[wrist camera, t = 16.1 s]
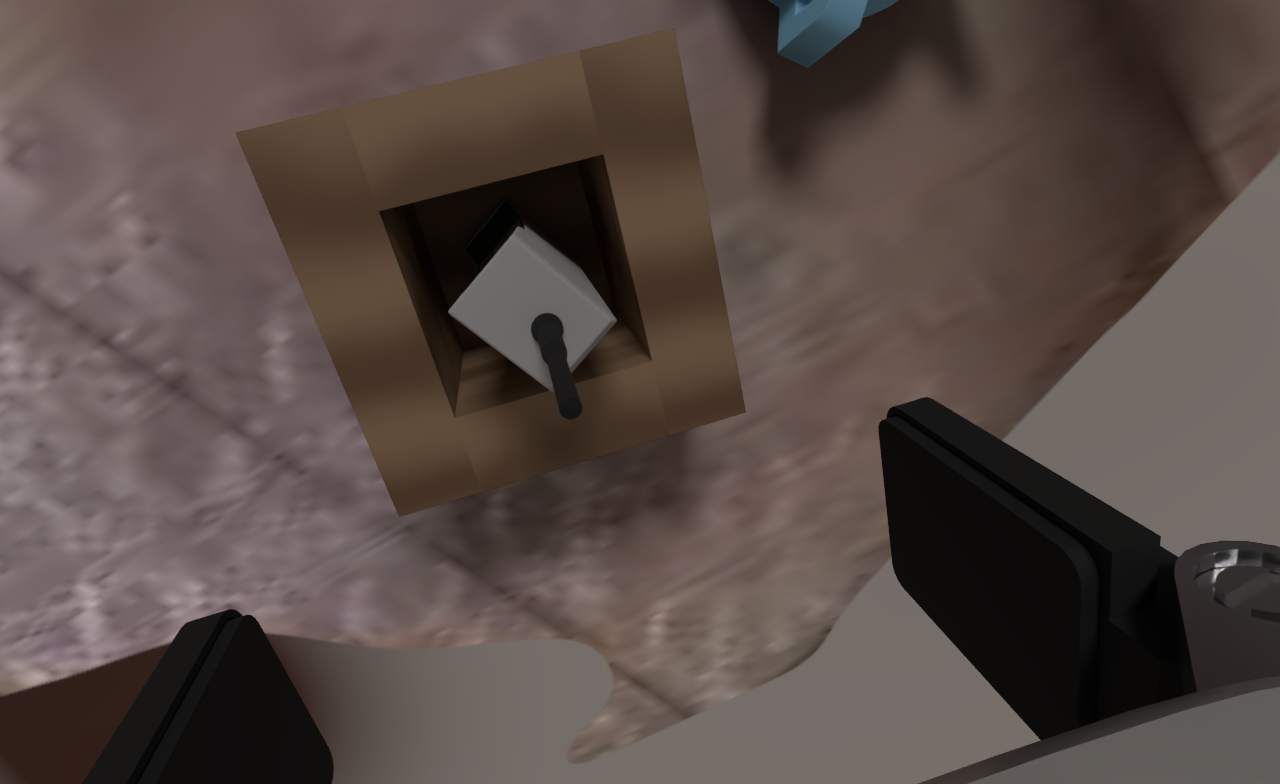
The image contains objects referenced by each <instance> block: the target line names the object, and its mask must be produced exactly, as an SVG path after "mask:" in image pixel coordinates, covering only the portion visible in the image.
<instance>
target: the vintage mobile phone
mask: <svg viewBox="0 0 1280 784" xmlns="http://www.w3.org/2000/svg"><path fill="white" fill-rule="evenodd" d="M464 251H465V253H466V254H467V255H468V257H469V258H470V259H471V261H472V262H473V263H474V264H475V266H476V276H475V279H474V281H473V282H472V283H471V284H470V285H469V287H468V288H467V289H466V290H465V291H464V293H462V294H461V295H460V297H459V298H458V299H457V300H456V302H455V303H454V304H453V306H452V307H451V308H450V309H449V311H448V313H449V314H450V315H451V316H452V317H453V318H455V319H456V320H457V321H459V322H460V323H461V324H463V325H464V326H465V327H467V328H468V329H469V330H471V331H472V332H473V333H475V334H476V335H477V336H478V337H480V338H481V339H482V340H484V341H485V342H486V343H488V344H489V345H490V346H492V347H493V348H494V349H496V350H497V351H498V352H500V353H501V354H502V355H503V356H505V357H506V358H507V359H509V360H510V361H511V362H513V363H514V364H515V365H517V366H518V367H519V368H521V369H522V370H523V371H525V372H526V373H527V374H529V375H530V376H531V377H532V378H534V379H535V380H536V381H538V382H539V383H540V384H542V385H543V386H544V387H546V388H547V389H548V390H550V391H551V392H553V393H554V392H555V396H556V400H557V404H558V408H559V412H560V414H561V415H562V416H563V417H564V418H566V419H575V418H577V417H578V416H579V415H580V414H581V412H582V404H581V401H580V398H579V395H578V392H577V389H576V386H575V383H574V380H573V377H572V374H571V373H572V372H573V371H574V370H575V368H576V367H577V366H578V365H579V364H580V363H581V362H582V360H583V359H584V358H585V357H586V356H587V355H588V354H589V352H590V351H591V350H592V349H593V348H594V347H595V346H596V345H597V343H598V342H599V341H600V340H601V339H602V338H603V337H604V335H605V334H606V333H607V332H608V331H609V330H610V329H611V327H612V326H613V325H614V324H615V323H616V321H617V320H616V318H615V317H614V315H613V314H612V312H611V311H610V309H609V308H608V307H607V305H606V304H605V302H604V301H603V299H602V298H601V297H600V295H599V294H598V292H597V291H596V289H595V288H594V286H593V285H592V284H591V282H590V281H589V279H588V278H587V276H586V275H585V273H584V272H583V271H582V269H581V268H580V266H579V265H578V263H577V262H576V260H575V259H574V258H573V256H572V255H571V254H570V253H569V252H568V251H567V250H566V249H565V248H563V247H562V246H561V245H560V244H559V243H558V242H556V241H555V240H554V239H553V238H552V237H551V236H550V235H548V234H547V233H546V232H545V231H544V230H543V229H542V228H540V227H539V226H538V225H537V224H536V223H535V222H533V221H532V220H531V219H530V218H529V217H528V216H527V215H525V214H524V213H523V212H522V211H521V210H520V209H518V208H517V207H516V206H515V205H514V204H513V203H512V202H510V201H509V200H508V199H507V198H504V199H503V201H502V202H501V203H500V204H499V205H498V207H497V208H496V209H495V210H494V211H493V213H492V214H491V215H490V216H489V218H488V219H487V220H486V221H485V222H484V224H483V225H482V226H481V227H480V228H479V230H478V231H477V232H476V233H475V235H474V236H473V237H472V238H471V239H470V241H469V242H468V243H467V244H466V245H465V247H464Z"/></svg>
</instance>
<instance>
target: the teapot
mask: <svg viewBox="0 0 1280 784" xmlns="http://www.w3.org/2000/svg"><path fill="white" fill-rule="evenodd" d="M768 1H770V2H771V3H773V4H774V5H775V6H777V7H778V8H780V9H779V28H778V47H777V54H779V55H781V56H783V57H785V58H787V59H789V60H791V61H793V62H795V63H797V64H800V65H802V66H804V67H806V68H809V67H810V66H811V65H812V64H814V63H815V62H816V61H818V60H819V59H820V58H821V57H823V56H824V55H825V54H826V53H828V52H829V51H830V50H831V49H833V48H834V47H835V46H836V45H838V44H839V43H840V42H841V41H843V40H844V39H845V38H847V37H848V36H849V35H850V34H852V33H853V32H854V31H855V30H857V29H858V28H859V27H860V24H861V21H862V18H864V17H867V16H870V15H873V14H875V13H877V12H879V11H881V10H883V9H885V8H887V7H889V6H891V5H893V4H894V3H896V2H897V1H899V0H768Z"/></svg>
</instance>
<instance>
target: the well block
mask: <svg viewBox="0 0 1280 784" xmlns="http://www.w3.org/2000/svg"><path fill="white" fill-rule="evenodd" d="M236 136H237V138H238V140H239V143H240V145H241V147H242V150H243V152H244V154H245V157H246V159H247V161H248V164H249V166H250V168H251V171H252V173H253V175H254V178H255V180H256V182H257V185H258V187H259V189H260V192H261V194H262V197H263V199H264V201H265V204H266V206H267V208H268V211H269V213H270V215H271V218H272V220H273V222H274V225H275V227H276V229H277V232H278V234H279V236H280V239H281V241H282V243H283V246H284V248H285V250H286V253H287V255H288V257H289V260H290V262H291V264H292V267H293V269H294V272H295V274H296V276H297V279H298V281H299V283H300V286H301V288H302V290H303V293H304V295H305V297H306V300H307V302H308V304H309V307H310V309H311V311H312V314H313V316H314V318H315V321H316V323H317V325H318V328H319V330H320V332H321V335H322V337H323V340H324V342H325V344H326V347H327V349H328V351H329V354H330V356H331V358H332V361H333V363H334V365H335V368H336V370H337V372H338V375H339V377H340V379H341V382H342V384H343V386H344V389H345V391H346V393H347V396H348V398H349V400H350V403H351V405H352V407H353V410H354V412H355V415H356V417H357V419H358V422H359V424H360V426H361V429H362V431H363V433H364V436H365V438H366V440H367V443H368V445H369V447H370V450H371V452H372V454H373V457H374V459H375V461H376V464H377V466H378V468H379V471H380V473H381V475H382V478H383V480H384V482H385V485H386V487H387V490H388V492H389V494H390V497H391V499H392V501H393V504H394V506H395V508H396V511H397V513H398V515H399V517H401V516H404V515H407V514H410V513H414V512H417V511H420V510H424V509H427V508H430V507H434V506H437V505H440V504H444V503H447V502H450V501H454V500H457V499H460V498H464V497H467V496H470V495H473V494H477V493H480V492H483V491H487V490H490V489H493V488H497V487H500V486H503V485H507V484H510V483H513V482H517V481H520V480H523V479H527V478H530V477H533V476H537V475H540V474H543V473H546V472H550V471H553V470H556V469H560V468H563V467H566V466H570V465H573V464H576V463H580V462H583V461H586V460H590V459H593V458H596V457H600V456H603V455H606V454H609V453H613V452H616V451H619V450H623V449H626V448H629V447H633V446H636V445H639V444H643V443H646V442H649V441H653V440H656V439H659V438H663V437H666V436H669V435H672V434H676V433H679V432H682V431H686V430H689V429H692V428H696V427H699V426H702V425H706V424H709V423H712V422H716V421H719V420H722V419H726V418H729V417H732V416H735V415H739V414H742V413H745V412H746V411H745V405H744V400H743V395H742V389H741V384H740V379H739V373H738V368H737V362H736V357H735V352H734V346H733V341H732V336H731V330H730V325H729V320H728V314H727V309H726V303H725V298H724V293H723V287H722V282H721V277H720V271H719V266H718V260H717V255H716V250H715V244H714V239H713V234H712V228H711V223H710V218H709V212H708V207H707V201H706V196H705V191H704V185H703V180H702V175H701V169H700V164H699V158H698V153H697V148H696V142H695V137H694V132H693V126H692V121H691V116H690V110H689V105H688V99H687V94H686V89H685V83H684V78H683V73H682V67H681V62H680V56H679V51H678V46H677V40H676V35H675V30H674V28H673V29H669V30H665V31H661V32H657V33H652V34H648V35H644V36H640V37H636V38H631V39H627V40H623V41H619V42H615V43H610V44H606V45H602V46H598V47H594V48H589V49H585V50H581V51H577V52H573V53H568V54H564V55H560V56H556V57H551V58H547V59H543V60H539V61H535V62H530V63H526V64H522V65H518V66H514V67H509V68H505V69H501V70H497V71H493V72H488V73H484V74H480V75H476V76H472V77H467V78H463V79H459V80H455V81H451V82H446V83H442V84H438V85H434V86H430V87H425V88H421V89H417V90H413V91H409V92H404V93H400V94H396V95H392V96H388V97H383V98H379V99H375V100H371V101H367V102H362V103H358V104H354V105H350V106H345V107H341V108H337V109H333V110H329V111H324V112H320V113H316V114H312V115H308V116H303V117H299V118H295V119H291V120H287V121H282V122H278V123H274V124H270V125H266V126H261V127H257V128H253V129H249V130H245V131H240V132H236ZM504 198H507V199H508V200H509V201H510V202H512V203H513V204H514V205H515V206H516V207H517V208H518V209H520V210H521V211H522V212H523V213H524V214H525V215H527V216H528V217H529V218H530V219H531V220H532V221H533V222H535V223H536V224H537V225H538V226H539V227H540V228H542V229H543V230H544V231H545V232H546V233H547V234H548V235H550V236H551V237H552V238H553V239H554V240H555V241H556V242H558V243H559V244H560V245H561V246H562V247H563V248H565V249H566V250H567V251H568V252H569V253H570V254H571V255H572V256H573V258H574V259H575V260H576V262H577V263H578V265H579V266H580V268H581V269H582V271H583V272H584V273H585V275H586V276H587V278H588V279H589V281H590V282H591V284H592V285H593V286H594V288H595V289H596V291H597V292H598V294H599V295H600V297H601V298H602V299H603V301H604V302H605V304H606V305H607V307H608V308H609V309H610V311H611V312H612V314H613V315H614V317H615V318H616V320H617V321H616V323H615V324H614V325H613V326H612V327H611V329H610V330H609V331H608V332H607V333H606V334H605V335H604V337H603V338H602V339H601V340H600V341H599V342H598V343H597V345H596V346H595V347H594V348H593V349H592V350H591V351H590V352H589V354H588V355H587V356H586V357H585V358H584V359H583V360H582V362H581V363H580V364H579V365H578V366H577V367H576V368H575V370H574V371H573V372H572V373H571V374H572V377H573V380H574V383H575V386H576V389H577V392H578V395H579V398H580V401H581V404H582V412H581V414H580V415H579V416H578V417H577V418H575V419H566V418H564V417H563V416H562V415H561V414H560V412H559V408H558V404H557V400H556V396H555V392H554V393H553V392H551V391H550V390H548V389H547V388H546V387H544V386H543V385H542V384H540V383H539V382H538V381H536V380H535V379H534V378H532V377H531V376H530V375H529V374H527V373H526V372H525V371H523V370H522V369H521V368H519V367H518V366H517V365H515V364H514V363H513V362H511V361H510V360H509V359H507V358H506V357H505V356H503V355H502V354H501V353H500V352H498V351H497V350H496V349H494V348H493V347H492V346H490V345H489V344H488V343H486V342H485V341H484V340H482V339H481V338H480V337H478V336H477V335H476V334H475V333H473V332H472V331H471V330H469V329H468V328H467V327H465V326H464V325H463V324H461V323H460V322H459V321H457V320H456V319H455V318H453V317H452V316H451V315H450V314H449V313H448V311H449V309H450V308H451V307H452V306H453V304H454V303H455V302H456V300H457V299H458V298H459V297H460V295H461V294H462V293H464V291H465V290H466V289H467V288H468V287H469V285H470V284H471V283H472V282H473V281H474V279H475V276H476V266H475V264H474V263H473V262H472V261H471V259H470V258H469V257H468V255H467V254H466V253H465V251H464V247H465V245H466V244H467V243H468V242H469V241H470V239H471V238H472V237H473V236H474V235H475V233H476V232H477V231H478V230H479V228H480V227H481V226H482V225H483V224H484V222H485V221H486V220H487V219H488V218H489V216H490V215H491V214H492V213H493V211H494V210H495V209H496V208H497V207H498V205H499V204H500V203H501V202H502V201H503V199H504Z"/></svg>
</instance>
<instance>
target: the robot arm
mask: <svg viewBox="0 0 1280 784" xmlns="http://www.w3.org/2000/svg"><path fill="white" fill-rule="evenodd" d="M879 439H880V449H881V458H882V468H883V478H884V487H885V497H886V507H887V516H888V526H889V535H890V545H891V555H892V563H893V568H894V571H895V574H896V576H897V579H898V581H899V582H900V584H901V585H902V587H903V588H904V589H905V590H906V591H907V593H908V594H909V595H910V596H911V597H912V598H913V599H914V600H915V601H916V603H917V604H918V605H919V606H920V607H921V608H922V609H923V610H924V611H925V612H926V614H927V615H928V616H929V617H930V618H931V619H932V620H933V621H934V622H935V624H936V625H937V626H938V627H939V628H940V629H941V630H942V631H943V632H944V634H945V635H946V636H947V637H948V638H949V639H950V640H951V641H952V642H953V644H954V645H955V646H956V647H957V648H958V649H959V650H960V651H961V652H962V653H963V655H964V656H965V657H966V658H967V659H968V660H969V661H970V662H971V663H972V665H974V666H975V668H976V669H977V670H978V671H979V672H980V673H981V674H982V676H983V677H984V678H985V679H986V680H987V681H988V682H989V683H990V684H991V685H992V687H993V688H994V689H995V690H996V691H997V692H998V693H999V694H1000V696H1001V697H1003V699H1004V700H1005V701H1006V702H1007V703H1008V704H1009V705H1010V707H1011V708H1012V709H1013V710H1014V711H1015V712H1016V713H1017V714H1018V715H1019V717H1020V718H1021V719H1022V720H1023V721H1024V722H1025V723H1026V724H1027V725H1028V726H1029V728H1030V729H1031V730H1032V731H1033V732H1034V733H1035V734H1036V735H1037V736H1038V737H1039V739H1040V740H1041V741H1039V742H1036V743H1032V744H1030V745H1027V746H1024V747H1021V748H1018V749H1015V750H1012V751H1009V752H1006V753H1003V754H1000V755H997V756H994V757H991V758H989V759H986V760H983V761H980V762H977V763H975V764H972V765H969V766H966V767H963V768H961V769H958V770H955V771H952V772H949V773H947V774H944V775H941V776H938V777H935V778H933V779H930V780H927V781H924V782H921V783H919V784H1280V547H1278V546H1274V545H1267V544H1262V543H1255V542H1249V541H1218V542H1211V543H1205V544H1200V545H1198V546H1196V547H1194V548H1191V549H1189V550H1186V551H1185V552H1184V553H1183V554H1182V555H1181V556H1180V557H1177V556H1176V555H1174V554H1172V553H1171V552H1169V551H1167V550H1165V549H1164V548H1163V547H1161V546H1160V539H1161V536H1159V535H1158V534H1156V533H1154V532H1153V531H1151V530H1149V529H1147V528H1146V527H1144V526H1143V525H1141V524H1139V523H1138V522H1136V521H1134V520H1133V519H1131V518H1129V517H1128V516H1126V515H1124V514H1123V513H1121V512H1119V511H1118V510H1116V509H1114V508H1113V507H1111V506H1109V505H1108V504H1106V503H1104V502H1103V501H1101V500H1099V499H1098V498H1096V497H1094V496H1093V495H1091V494H1089V493H1088V492H1086V491H1084V490H1083V489H1081V488H1079V487H1078V486H1076V485H1074V484H1073V483H1071V482H1069V481H1068V480H1066V479H1064V478H1063V477H1061V476H1060V475H1058V474H1056V473H1054V472H1053V471H1051V470H1050V469H1048V468H1046V467H1045V466H1043V465H1041V464H1040V463H1038V462H1036V461H1034V460H1033V459H1031V458H1030V457H1028V456H1026V455H1025V454H1023V453H1021V452H1020V451H1018V450H1016V449H1014V448H1013V447H1011V446H1009V445H1008V444H1006V443H1004V442H1003V441H1001V440H1000V439H998V438H996V437H995V436H993V435H991V434H990V433H988V432H986V431H985V430H983V429H981V428H980V427H978V426H976V425H975V424H973V423H971V422H970V421H968V420H966V419H965V418H963V417H961V416H960V415H958V414H956V413H955V412H953V411H952V410H950V409H948V408H947V407H945V406H943V405H942V404H940V403H938V402H937V401H935V400H933V399H931V398H928V397H925V398H921V399H918V400H914V401H911V402H908V403H905V404H901V405H898V406H895V407H892V408H890V409H889V411H888V414H887V419H885V420H882V421H881V422H880V424H879ZM332 779H333V759H332V755H331V752H330V750H329V747H328V746H327V744H326V742H325V740H324V738H323V737H322V735H321V733H320V731H319V730H318V728H317V726H316V724H315V723H314V721H313V719H312V717H311V715H310V714H309V712H308V710H307V708H306V706H305V705H304V703H303V701H302V699H301V697H300V696H299V694H298V692H297V690H296V689H295V687H294V685H293V683H292V681H291V680H290V678H289V676H288V674H287V673H286V671H285V669H284V667H283V665H282V664H281V662H280V660H279V658H278V657H277V655H276V653H275V651H274V649H273V648H272V646H271V644H270V642H269V640H268V639H267V637H266V635H265V633H264V632H263V630H262V628H261V626H260V624H259V623H258V621H257V620H256V619H255V618H254V617H253V616H252V615H245V616H242V614H241V613H239V612H238V611H236V610H233V609H229V610H226V611H223V612H219V613H216V614H213V615H210V616H206V617H203V618H200V619H197V620H193V621H190V622H188V623H185V624H184V626H183V627H182V628H181V629H180V630H179V632H178V634H177V635H176V637H175V638H174V640H173V642H172V643H171V645H170V646H169V648H168V649H167V651H166V653H165V654H164V656H163V658H162V659H161V660H160V662H159V664H158V665H157V667H156V668H155V670H154V672H153V673H152V675H151V676H150V678H149V679H148V681H147V682H146V684H145V686H144V687H143V689H142V690H141V692H140V693H139V695H138V697H137V698H136V700H135V701H134V703H133V705H132V706H131V708H130V709H129V711H128V712H127V714H126V715H125V717H124V719H123V720H122V722H121V723H120V725H119V727H118V728H117V730H116V731H115V733H114V734H113V736H112V738H111V739H110V741H109V742H108V744H107V746H106V747H105V749H104V750H103V752H102V753H101V755H100V757H99V758H98V760H97V761H96V763H95V764H94V766H93V768H92V769H91V771H90V772H89V774H88V775H87V777H86V779H85V780H84V782H83V783H82V784H331V783H332Z"/></svg>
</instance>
